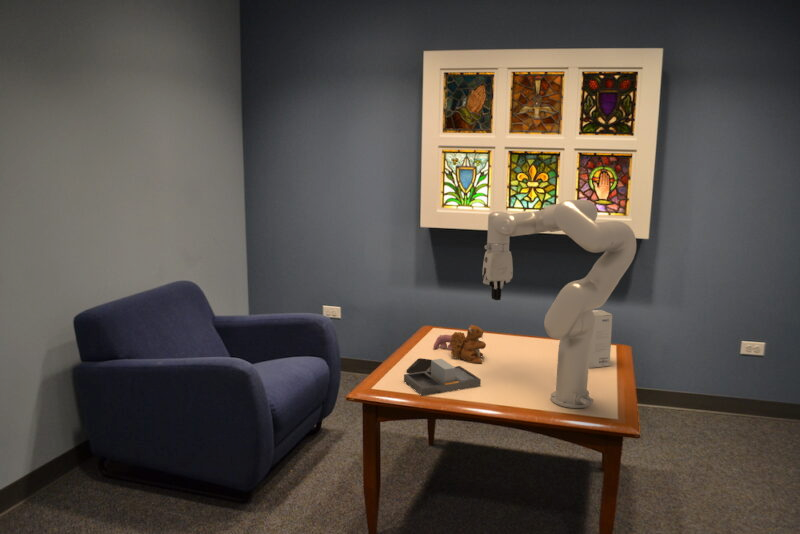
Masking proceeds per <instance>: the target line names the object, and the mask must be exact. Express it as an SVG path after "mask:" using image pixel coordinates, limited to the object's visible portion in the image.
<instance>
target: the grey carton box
mask: <svg viewBox="0 0 800 534" xmlns="http://www.w3.org/2000/svg"><path fill="white" fill-rule="evenodd" d="M592 311H593V313H594V316H595V326H594V331H593V334H592V339H591V345H590V356H589V369H593V368H603V367H604V368H605V367H610V365H611V351H612V350H611V347H612V335H613V333H612V331H613V318H614V315H613V314H612V313H610V312H607V311H605V310H603V309H597V310H596V309H593V310H592Z"/></svg>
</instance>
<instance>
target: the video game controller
mask: <svg viewBox="0 0 800 534" xmlns="http://www.w3.org/2000/svg"><path fill="white" fill-rule="evenodd" d="M451 335H452V334H451ZM451 335H450V334H440V335H438V337H437V338H436V340H435V342H434V344H433V350H437V349H438V348H439V346H440V348H441V349H443V350H445V349H447V348H448V350H449V351H452V347H451V346H452V344H451ZM447 343H449V344H448V345H447Z"/></svg>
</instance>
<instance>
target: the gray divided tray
mask: <svg viewBox="0 0 800 534" xmlns="http://www.w3.org/2000/svg"><path fill="white" fill-rule="evenodd" d="M454 367H455V368H456V372H455V381H453V382H447V383H444V384H442V383H441V382H439V381H438V380H436V379H435V378H434V377H432V376H431V370H430V371H423V372H417V373H404V374H403V382H404V383H405V382H406V383H405V384H407V385H408V386H409V387H410V386H411V387H410V388H411V389H412V390H414V389H415V390H416V391H415V390H414V391H415V392H416V393H418V394H419V395H420V394H421V395H420V396H422V397H424V396H423V395H425V396H429V395H435V394H436V393H437V394H441V393H442V392H443V393H447V391H449V392H454V391H453V390H455V391H459V390H458V389H460V390H466V389H473V388H478V387H481V378H480V377H478V376H477V375H475V374H474V373H472V372H470V371H469V370H467V369H465V368H464V367H462V366H461V365H458V366H454ZM465 388H466V389H465Z"/></svg>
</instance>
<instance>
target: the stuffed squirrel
mask: <svg viewBox="0 0 800 534" xmlns="http://www.w3.org/2000/svg"><path fill="white" fill-rule="evenodd" d="M483 334H484V330H483V328H481V327H479V326H477V325H474V324H470V325H469V327H468V328H467V333H466V335H465V333H464V332H461V331H460V332H459V331H458V332H457V331H455V332H454V333H453V334H451V344H452V346H451V347H452V350H450V354H451V355H452V357H453V358H454V359H456V360H464V361H465V362H468V363H471V364H476V363H478V365H481V364H482V363H483V359H482V358H481V356H482V357H483V356H484V353H482V352H481V351H480V350H484V349H485V348H486V346H487V344H486V343H485V341H483V340H482V341H481V340H480V339H484V338H483V336H484V335H483Z"/></svg>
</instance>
